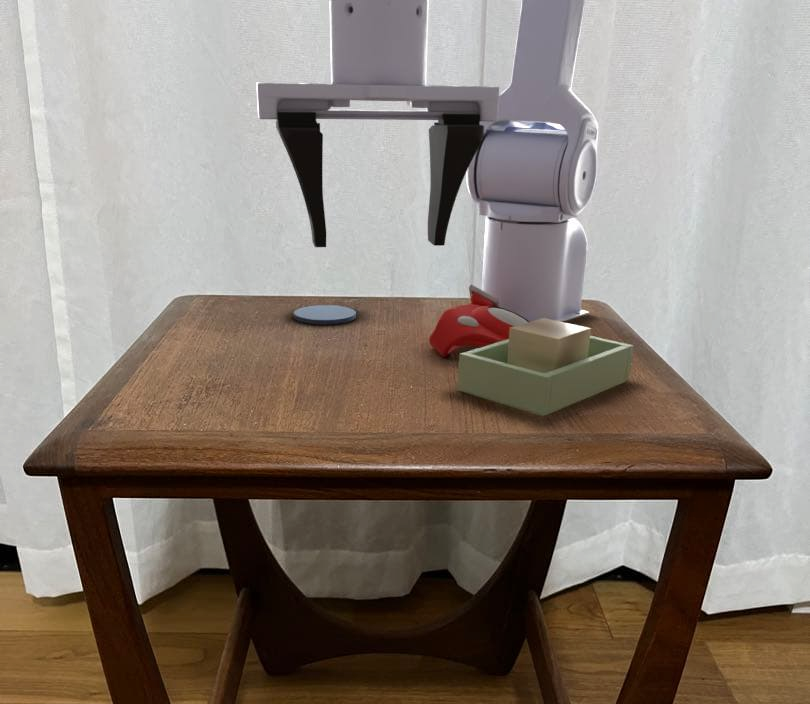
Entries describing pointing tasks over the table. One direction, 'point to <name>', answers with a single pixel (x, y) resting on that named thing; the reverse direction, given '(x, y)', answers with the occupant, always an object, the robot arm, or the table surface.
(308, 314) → the pad
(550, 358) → the block
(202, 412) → the table surface
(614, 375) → the tray
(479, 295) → the red curved piece
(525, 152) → the robot arm
